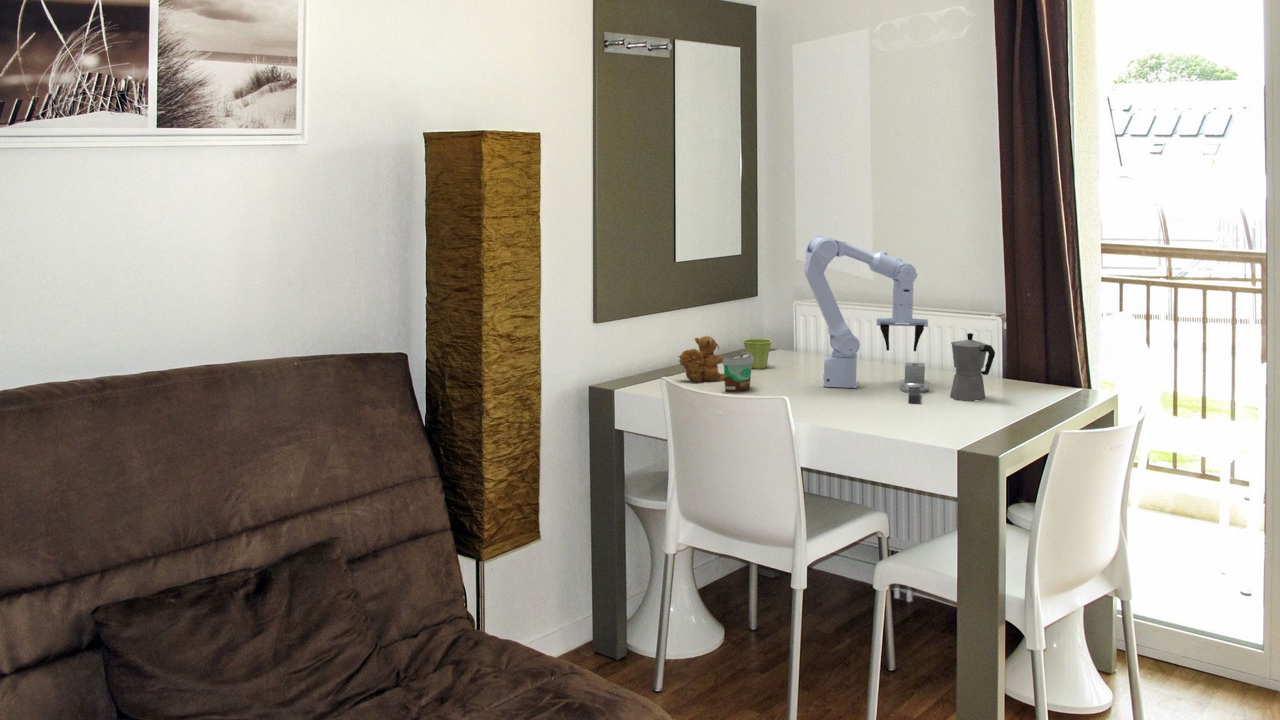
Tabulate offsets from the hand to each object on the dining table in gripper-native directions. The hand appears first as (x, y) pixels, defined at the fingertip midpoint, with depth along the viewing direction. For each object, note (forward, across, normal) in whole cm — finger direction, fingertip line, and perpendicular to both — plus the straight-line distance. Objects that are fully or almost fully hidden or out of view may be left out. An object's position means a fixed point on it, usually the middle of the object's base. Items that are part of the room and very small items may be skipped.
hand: (901, 350), depth 316 cm
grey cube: (+7, +4, -9) cm, 13 cm away
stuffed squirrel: (+10, -58, -6) cm, 59 cm away
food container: (+10, -44, -18) cm, 49 cm away
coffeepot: (+10, +19, -18) cm, 28 cm away
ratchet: (+10, +4, -16) cm, 19 cm away
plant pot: (+10, -45, +19) cm, 50 cm away
